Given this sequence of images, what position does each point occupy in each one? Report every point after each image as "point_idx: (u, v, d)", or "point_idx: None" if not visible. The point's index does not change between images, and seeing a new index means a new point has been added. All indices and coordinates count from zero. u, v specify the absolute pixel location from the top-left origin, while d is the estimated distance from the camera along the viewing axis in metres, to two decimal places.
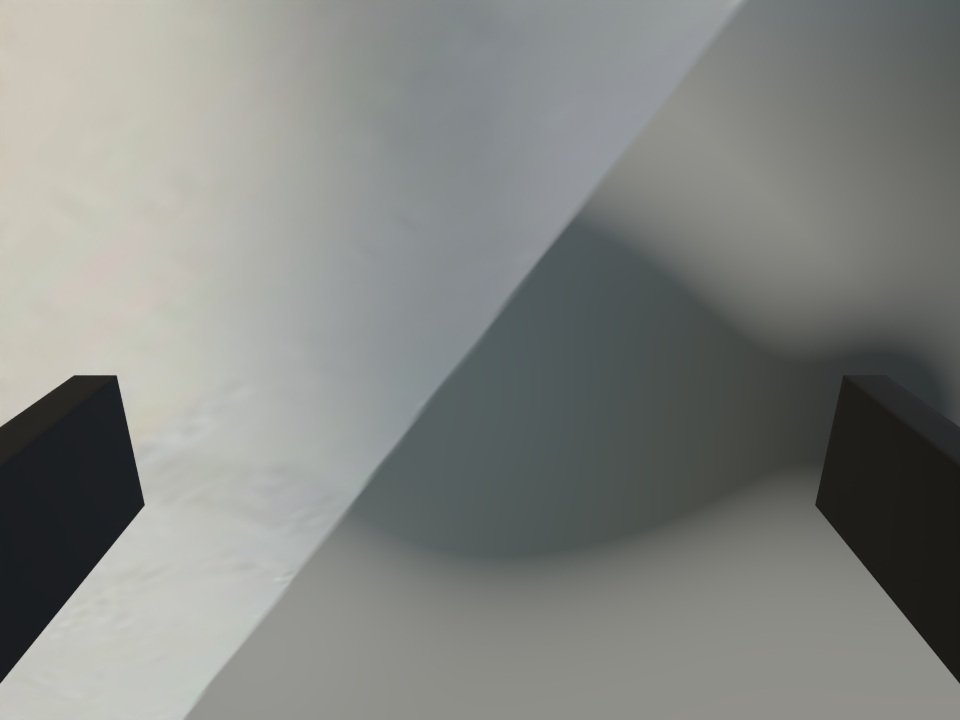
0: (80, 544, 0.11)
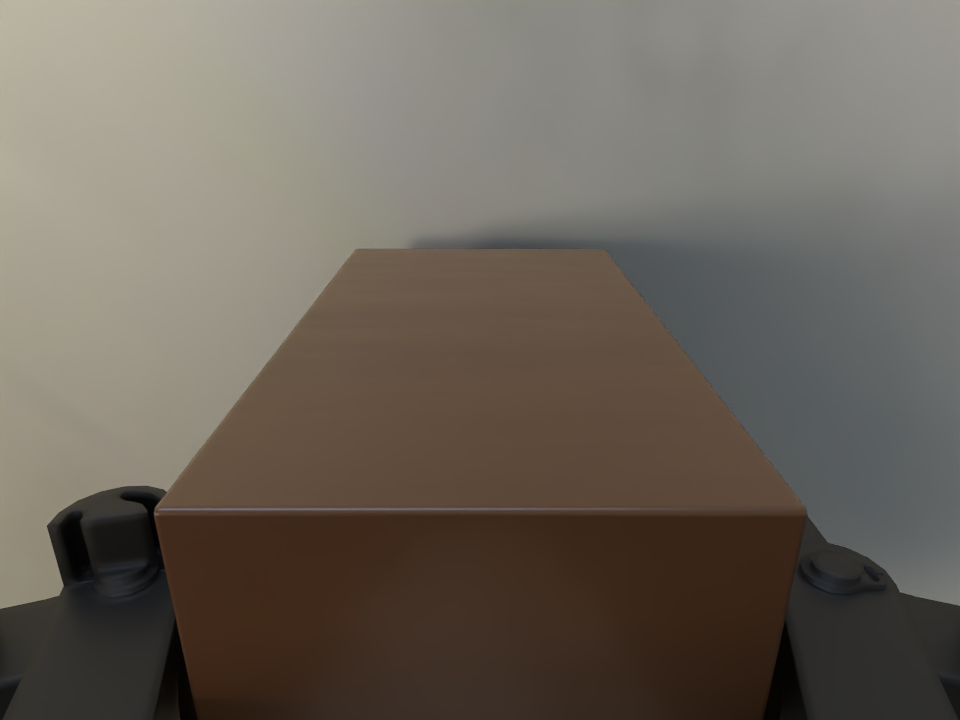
0: None
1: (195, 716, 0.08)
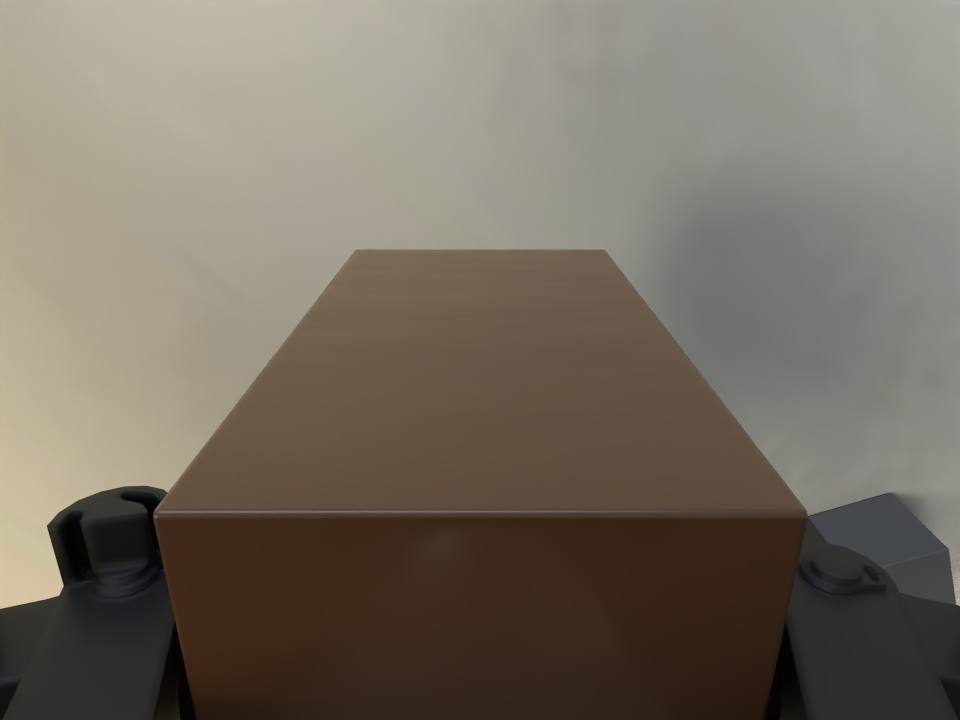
0: None
1: (195, 716, 0.08)
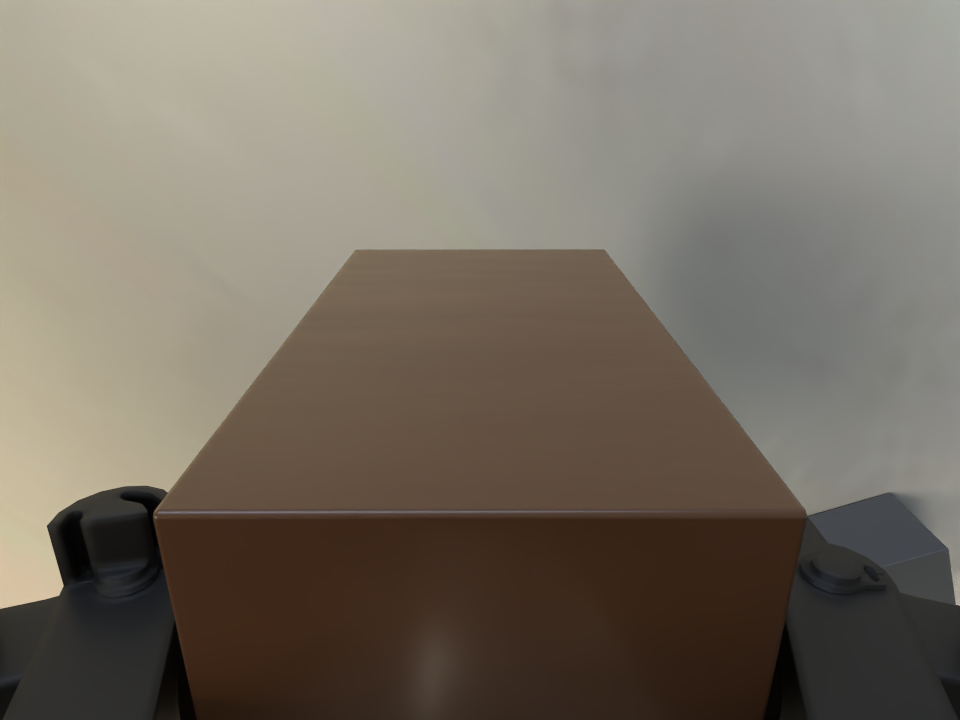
0: None
1: (195, 716, 0.08)
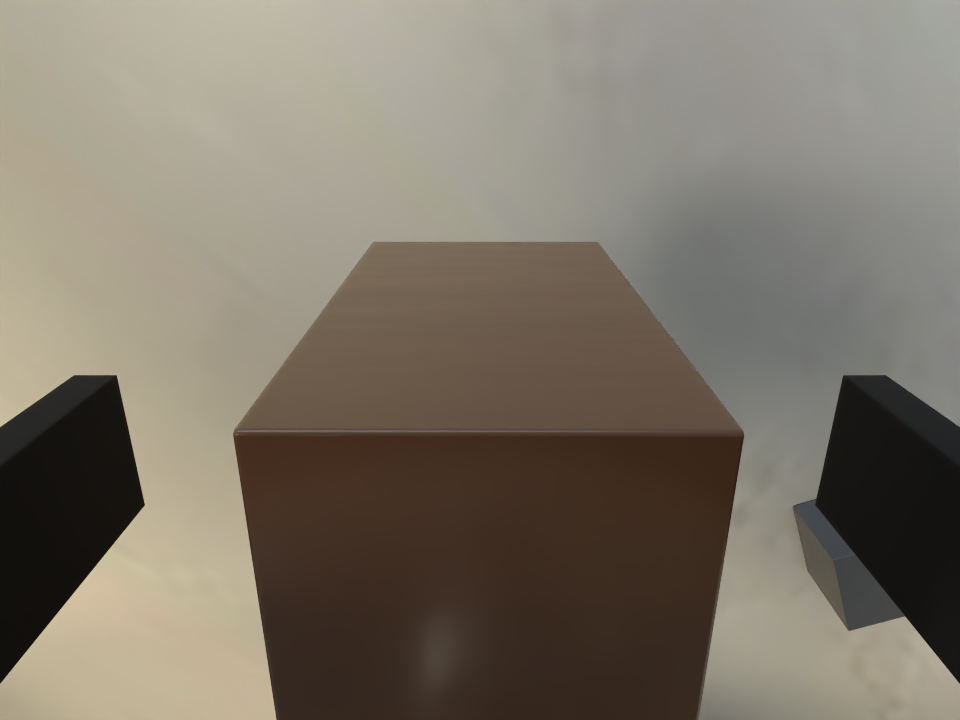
0: (80, 544, 0.11)
1: None
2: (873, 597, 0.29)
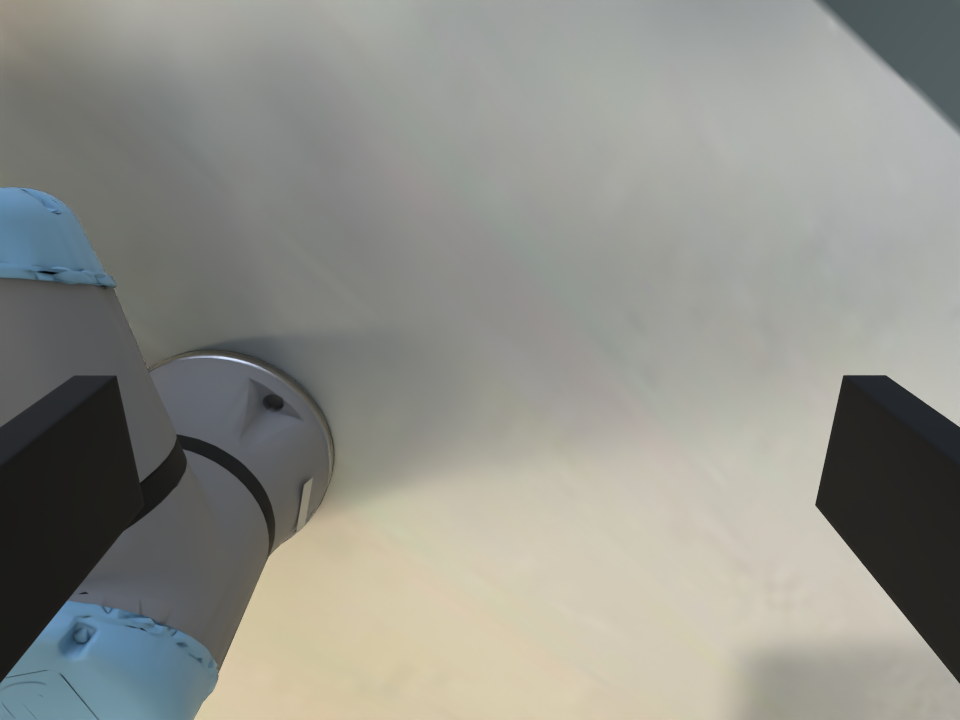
0: (80, 544, 0.11)
1: None
2: None
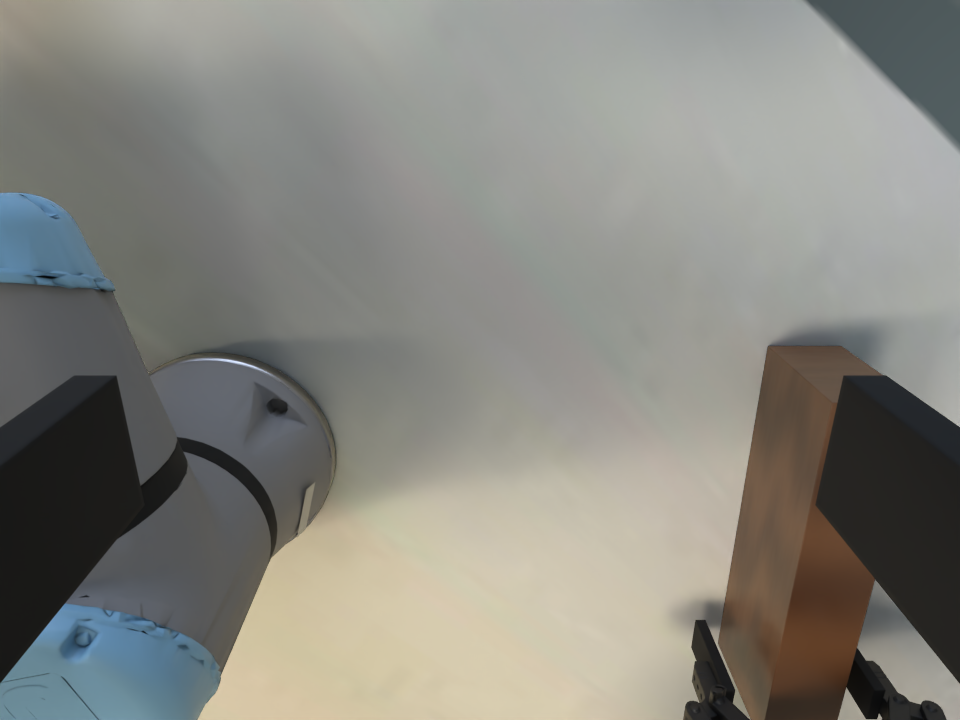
0: (80, 544, 0.11)
1: None
2: None
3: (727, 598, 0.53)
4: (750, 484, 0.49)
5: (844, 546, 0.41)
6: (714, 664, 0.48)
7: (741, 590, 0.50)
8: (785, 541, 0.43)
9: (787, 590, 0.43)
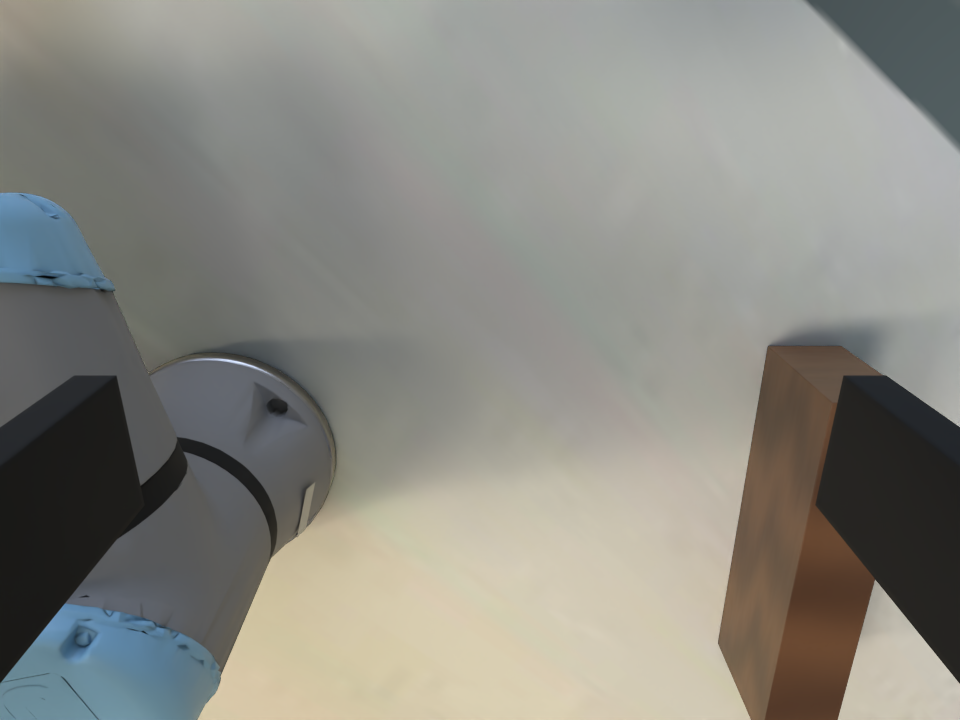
0: (80, 544, 0.11)
1: None
2: None
3: (727, 598, 0.53)
4: (750, 484, 0.49)
5: (844, 546, 0.41)
6: None
7: (741, 590, 0.50)
8: (785, 541, 0.43)
9: (787, 590, 0.43)
